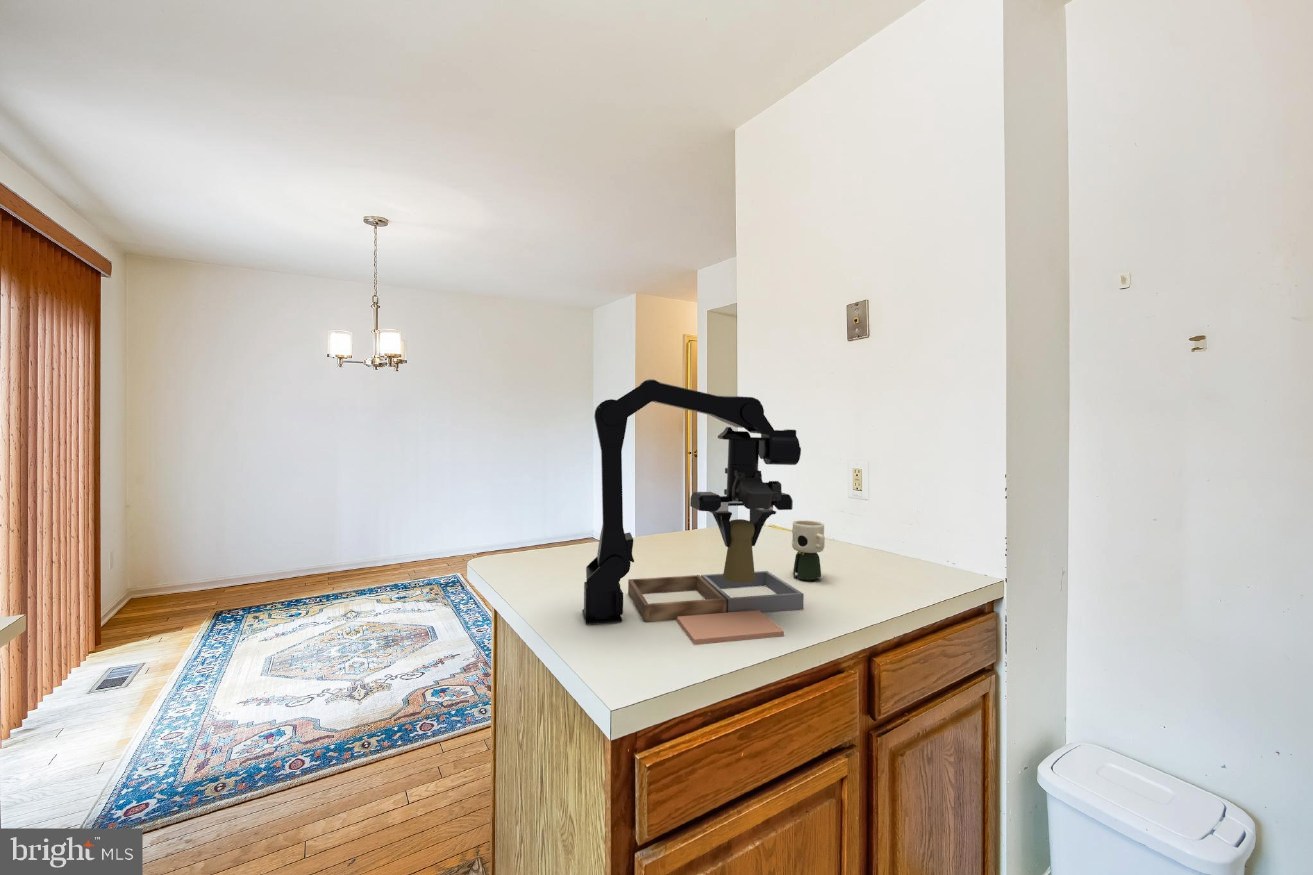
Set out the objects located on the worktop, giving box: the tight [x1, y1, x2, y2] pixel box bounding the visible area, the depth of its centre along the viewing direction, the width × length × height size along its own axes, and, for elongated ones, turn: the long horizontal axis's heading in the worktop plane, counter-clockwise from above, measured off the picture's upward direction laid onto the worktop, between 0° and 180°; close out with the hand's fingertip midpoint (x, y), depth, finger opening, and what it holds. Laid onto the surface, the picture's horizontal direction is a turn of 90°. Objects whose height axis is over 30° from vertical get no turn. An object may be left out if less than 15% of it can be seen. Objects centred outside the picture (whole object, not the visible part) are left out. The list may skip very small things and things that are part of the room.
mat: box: [676, 610, 785, 645], centre depth 90 cm, size 16×10×1 cm, turn 104°
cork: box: [722, 518, 756, 583], centre depth 98 cm, size 6×6×11 cm
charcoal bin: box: [700, 570, 805, 613], centre depth 106 cm, size 16×16×3 cm
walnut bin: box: [627, 574, 726, 623], centre depth 102 cm, size 16×16×3 cm
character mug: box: [791, 519, 826, 581], centre depth 120 cm, size 11×7×13 cm, turn 22°
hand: (739, 546), depth 98 cm, fingers closed on cork, 5 cm apart
